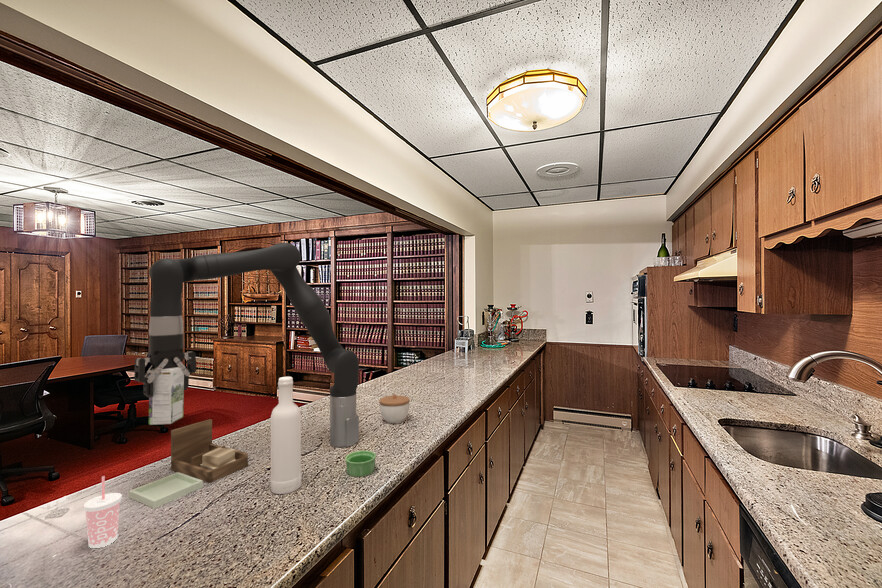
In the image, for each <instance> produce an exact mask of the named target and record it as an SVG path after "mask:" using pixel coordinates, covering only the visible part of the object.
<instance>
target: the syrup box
mask: <svg viewBox="0 0 882 588" xmlns="http://www.w3.org/2000/svg"><path fill="white" fill-rule="evenodd" d="M154 370H155V369H154ZM154 370H152V371H154ZM150 375H151V374H150ZM150 375H149V376H150ZM152 383H153V397H148V425H149V426H153V425H155V426H157V425H171V424H173V423H175V422H178V421H179V420H181V419H183V418H184V411H185V409H184V406H185V405H184V401H185V400H184V399H185V397H184V395H185V390H184V373H183V371H182V370H181V368H179V367H174V368H166V369H162V370H161V372H160V373H159V374H158V375H157V376H156V377H155V378H154V380H153V381H152Z"/></svg>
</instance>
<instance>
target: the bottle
mask: <svg viewBox="0 0 882 588" xmlns="http://www.w3.org/2000/svg"><path fill="white" fill-rule="evenodd" d="M293 379H294V378H293V377H292V376H282V377H279V378H278V382H277V386H278V403H277V405H276V406H275V407H273V408H272V411H271V415H270V479H269V480H270V486H269V487H270V491H271V493H273V494H276V495H286V494H290V493H293V492H295V491H297V490H298V489H300V487H301V486H302V416H301V415H302V414H301V411H300V408H299V406H298V405H297V404H296V403H295V402H294V401H293V400H294V399H293V398H294V397H293V393H294V391H293V390H294V389H293V387H294V380H293Z"/></svg>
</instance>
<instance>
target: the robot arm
mask: <svg viewBox="0 0 882 588" xmlns="http://www.w3.org/2000/svg"><path fill="white" fill-rule="evenodd" d="M300 262H301V252H300V250H299V248H298V247H297V246H295V245H294V244H292V243H290V242H278V243H276V244H272V245H270V246H268V247H263V248H259V249H253V250H252V249H251V250H243V251H234V252H233V251H232V252H231V251H230V252H221V253H212V254H211V253H210V254H201V255H196V256H192V257H188V258H186V257H185V258H177V259H176V258H175V259H172V258H168V257H167V258H166V257H165V258H161V259H158V260H156V261H155V262H154V263H153V264H151V266H150V268H149V271H148V275H149V278H150V280H151V297H150V303H149V304H150V305H149V309H150V310H149V311H150V312H149V314H150V315H149V316H150V318H149V323H148V324H149V326H148V336H149V337H148V340H149V342H148V343H149V345H148V347H149V348H148V349H149V356H148V357H143V358H142V357H136V358H135V359H134V375H133V376H134V379H133V380H134V381H135V382H138V383H139V382H140V383H142V384H143V385H142V386H143V395H144V396H145V397H146V398H149V397H153V383H152V381H153V380H154V378H155V377H156V376H157V375H158V374H159V373H160V372H161V370H162V369H166V368H174V367H179V368H181V370H182V371H183V373H184V391H186V390H188V388H189V386H190V385H189V384H190V382H189V381H190V379H189V378H190V375H192V374H194V373H196V372H197V356H196V352H195V351H190V350H189V351H186V352H184V345H185V343H184V319H183V301H182V296H183V295H182V294H183V286H184V283H187V282H194V281H205V280H212V279H219V278H224V277H230V276H235V275H239V274H240V275H241V274H245V273H250V272H254V271H265V270H270V272H271V273H272V275H273V276H274V277H275V278H276V280H277V281H278V283H279V284H280V285H281V287H282V288H283V291H284V292H285V295H286V297H287V298H288V299H289V301H290V303H291V305H292V306H293V308H294V310H295V312H296V314H297V316H298V317H299V319H300V320H301V323H302V324H303V326H304V327H305V329H306V331H307V332H308V334H309V335H310V337H311V338H312V340H313V341H314V343H315V344H316V346H317V347H318V350H319V352H320V354H321V357H322V359H323V361H324V363H325V365H326V368H327V369H328V370H329V371H330V372H331V373H333V375H334V380H333V385H331V386H330V387H329V444H330V446H332V447H334V448H335V447H336V448H337V447H338V448H342V447H343V448H344V447H345V448H349V447H350V446H352V445H354V444H356V443H358V442H359V441H360V426H359V424H360V416H359V414H357V388H358V386H359V377H360V362H359V358H358V355H357V353H355V352H354V351H352V350H348V349H345V348H344V347H343V345H342V344H341V343H340V341H339V340H338V338H337V337H336V334H335V331H334V328H333V323H332V318H331V315H330V312H329V310H328V309H327V307H326V305H325V303H324V301H323V300H322V298H321V297H320V296H319V294H318V293H317V292H316V291H315V290H314V289H313V288H312V286H310V285H309V284H308V283H307V282H306V281H305V280H304V278H303V277H302V275H301V273H300V272H299V270H298V266H299V264H300ZM184 359H185V360H186V366H185V364H184V363H183V360H184ZM148 363H149V364H150V365H151V366H150V367H149V368H148V370H147V371H146V367H147V365H148ZM154 369H155V370H154ZM152 370H154V371H152ZM150 374H151V375H150ZM149 375H150V376H149Z"/></svg>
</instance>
